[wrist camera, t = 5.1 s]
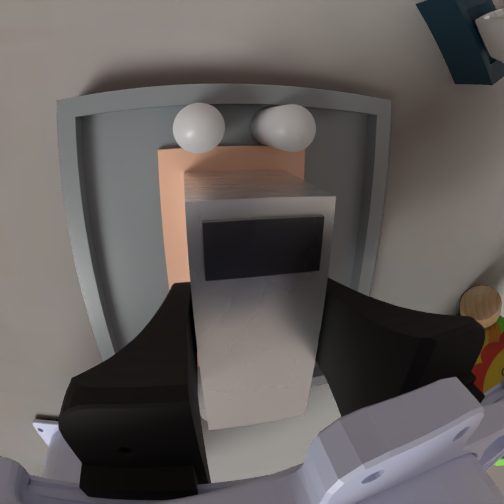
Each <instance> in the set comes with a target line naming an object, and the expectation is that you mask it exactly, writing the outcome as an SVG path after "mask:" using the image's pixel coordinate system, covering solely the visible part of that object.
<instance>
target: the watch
mask: <svg viewBox="0 0 504 504" xmlns="http://www.w3.org/2000/svg"><path fill="white" fill-rule="evenodd" d="M416 6H417V7H418V9H419V11H420V13H421V14H422V16H423V18H424V20H425V21H426V23H427V25H428V27H429V29H430V31H431V33H432V34H433V36H434V38H435V40H436V42H437V44H438V46H439V48H440V50H441V53H442V55H443V57H444V59H445V61H446V63H447V66H448V68H449V70H450V73H451V75H452V77H453V80H454V82H455V84H482V85H493V84H494V83H496V82H497V81H498V80H500V79H501V78H502V77H504V8H502V9H498V10H496V8H495V6H494V4H493V2H492V0H427V1H424V2H421V3H418V4H416Z"/></svg>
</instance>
